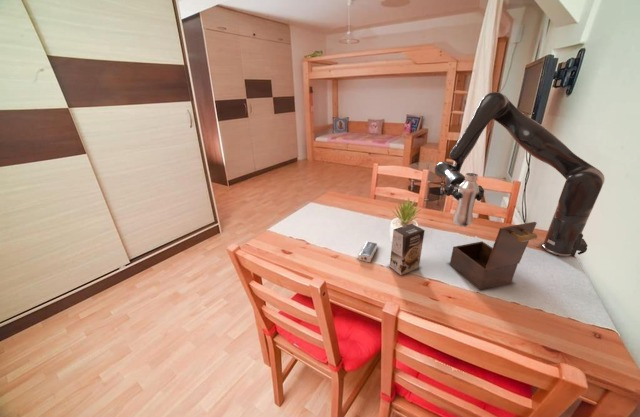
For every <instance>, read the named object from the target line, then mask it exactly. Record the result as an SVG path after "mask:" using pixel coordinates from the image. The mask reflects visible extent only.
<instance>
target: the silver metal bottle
mask: <svg viewBox="0 0 640 417" xmlns="http://www.w3.org/2000/svg"><path fill="white" fill-rule="evenodd" d="M464 176H465V181H464V182H462V183H461V184H460V186H459V188H458V193H459V194H460V199H459V200H457V202H456V206H455V211H454V213H453V215H452V222H453V224H454V225H456V226H457V227H458V226H459V227H466V228H467V227H469V226H470V225H472V223H473V221H474V220H473V219H474V215H473V213H474V206H475V203H476V201H477V199H476V197H477V195H478V192H479V187H478V186H479V185H478V183H477V181H478V176H479V174H477V173H474V172H467V173H465V175H464Z"/></svg>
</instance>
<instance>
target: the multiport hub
mask: <svg viewBox="0 0 640 417" xmlns="http://www.w3.org/2000/svg"><path fill="white" fill-rule="evenodd" d="M377 249H378V243H377V242H372V241H366V243H365V244H364V246H363V248H362V249H361V251H360V253H359V256H358V258H359V259H358V260H359V261H362V262H366V263H371V261H372V260H373V257H374V255H375V253H376V251H377Z"/></svg>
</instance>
